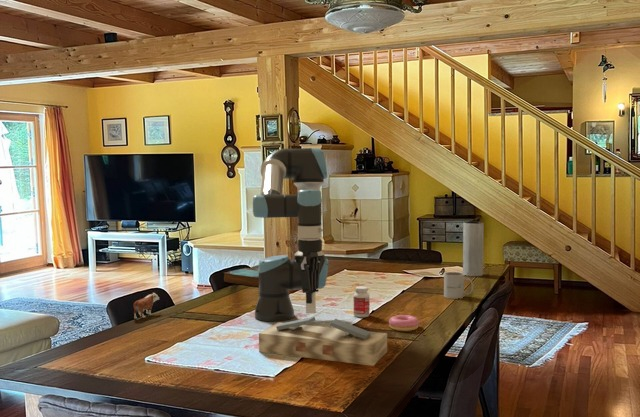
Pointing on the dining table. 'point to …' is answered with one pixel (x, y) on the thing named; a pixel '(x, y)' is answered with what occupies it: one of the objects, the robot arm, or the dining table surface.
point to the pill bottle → (361, 302)
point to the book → (243, 277)
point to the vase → (473, 248)
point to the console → (323, 344)
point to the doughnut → (404, 322)
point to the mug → (455, 285)
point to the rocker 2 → (350, 329)
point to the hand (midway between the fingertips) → (310, 312)
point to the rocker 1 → (295, 323)
